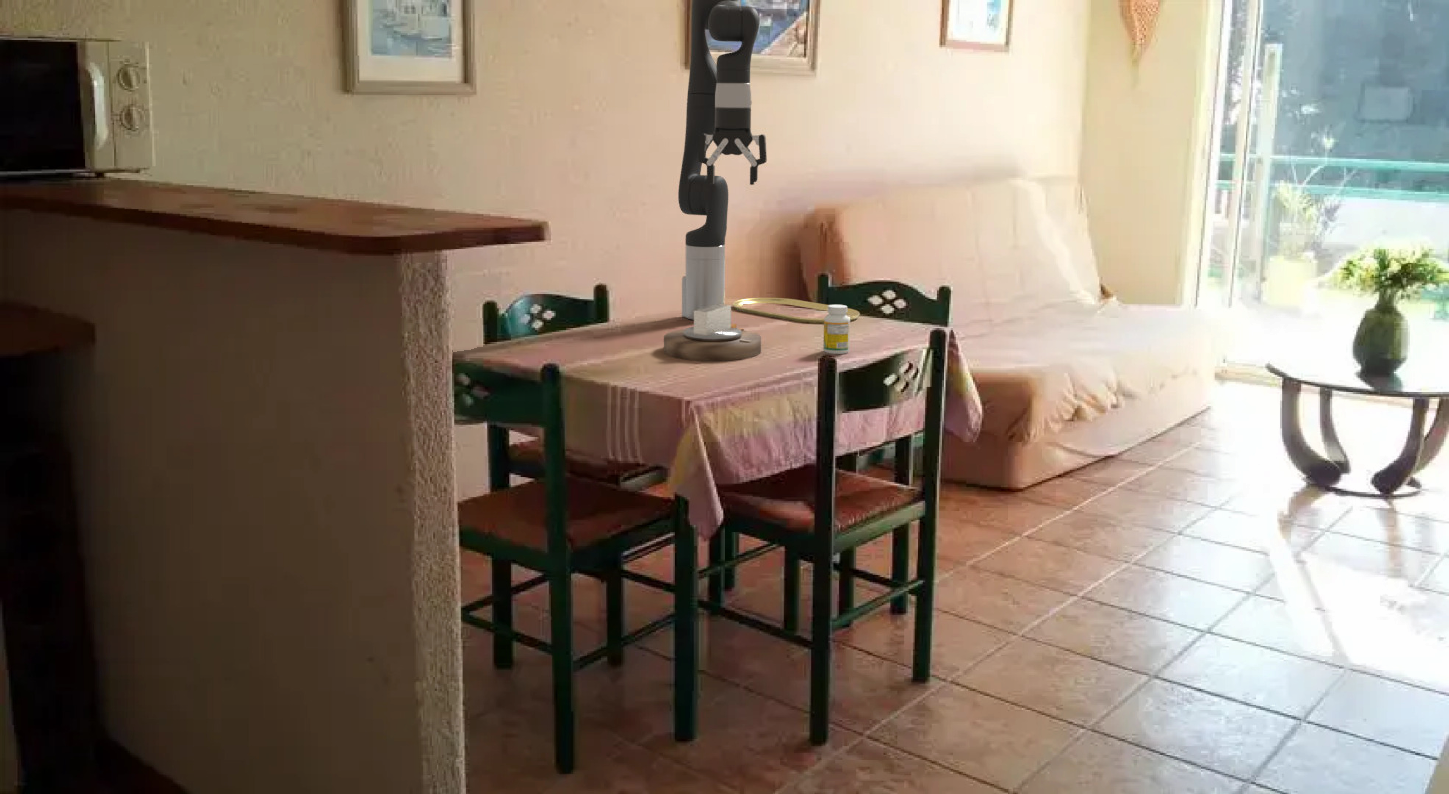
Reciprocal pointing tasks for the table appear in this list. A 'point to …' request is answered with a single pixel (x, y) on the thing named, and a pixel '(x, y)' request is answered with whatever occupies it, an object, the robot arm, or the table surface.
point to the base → (712, 347)
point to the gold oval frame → (789, 302)
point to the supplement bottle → (836, 330)
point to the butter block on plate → (713, 325)
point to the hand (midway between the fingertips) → (732, 184)
